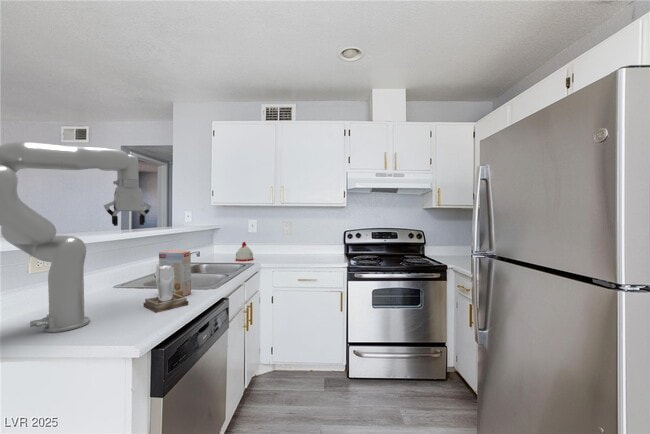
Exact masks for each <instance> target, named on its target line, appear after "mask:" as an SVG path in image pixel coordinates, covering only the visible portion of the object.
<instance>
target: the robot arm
mask: <svg viewBox="0 0 650 434" xmlns="http://www.w3.org/2000/svg"><path fill="white" fill-rule="evenodd" d="M24 169H25V170H26V169H37V170H38V169H39V170H61V171H81V170H90V169H93V170H94V169H98V170H100V171H105V172H107V171H108V172H109V171H114V172H116V174H117V175H116V176H117V177H116V178H117V180H113V182H112V183H113V185H116V187H115V189H114V194H113V195H114V196H113V201H110V202H108V203H106V204H103V208H104V209H105V211H106V213H107V214H108V215H110V216H111V223H112V225H113V226H114V227H117V226H118V224H119V220H118V218H119V217H118V214H119V213H120V212H137V213H138V214H139V216H138V217H139V225H141V226H144V225H145V223H146V216H147V214H148V213H149V212H150V210H151V209H152V205H150V204H149V203H147V202H145V201H144V197H143V191H142V188H141V187H139V185H140V184H139V183H140V181H139V159H138V156H136V155H133V154H128V153H127V152H126V151H124V150H121V149H117V148H116V149H114V148H105V147H90V146H87V147H86V146H81V145H79V146H77V145H65V144H55V143H46V142H38V141H37V142H36V141H27V140H26V141H22V140H21V141H20V140H19V141H13V142H6V143H3V144H1V145H0V227H1V228H0V229H1V230H0V232H1V235H2V238H3V239H4V240H5V241H6V242H7V243H9V244H10V245H12V246H14V247H16V248H17V249H19V250H21V251H23V252H24V253H26V254H28V255H29V256H31V257H33V258H35V259H36V260H39V261H42V262H45V263H50V267H49V269H48V275H47V284H48V289H47V290H48V294H47V295H48V314H46V317H42V319H35V320H34V319H33V320H30V322H29V326H30V328H33V327H36V328H38V327H42V331H43V332H45V333H46V332H47V333H59V332H66V331H71V330H75V329H79V328H82V327H83V326H87V325H88V324H90V322H91V317H89V316H85V278H84V276H85V275H84V273H85V272H84V271H85V270H84V268H85V267H84V266H85V260H86V255H87V246H86V244H85V242H84V241H83V240H82V239H81V238H79V237H78V236H77V237H76V236H72V235H56V234H57V229H56V226H55V225H54V224H53V222H51V220H49V219H48V218H46V217H44V216H43V215H42V214H40V213H39V212H37V211H36V210H34V209H32V208H31V207H29V206H28V205H27V204H26V203H25V202H24V201H23V200H21V198H20V197H19V195H18V186H19V185H18V183H19V180H18V179H19V178H18V175H17V174H16V173H17V172H19V171H20V170H24ZM110 207H113V210H111V209H110ZM144 208H145V210H144Z"/></svg>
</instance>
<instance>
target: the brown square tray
mask: <svg viewBox="0 0 650 434" xmlns="http://www.w3.org/2000/svg"><path fill="white" fill-rule="evenodd" d="M172 295H173V300H172V301H167V302H163V303H158V296H153V297H149V298H145V299H144V302H143V307H145V308H146V309H149V310H150V311H152V312H154V313H155V314H157V313H162V312H164V311H169V310H172V309H177V308H180V307H185V306H189V301H188V299H187V297H185V296H181V295H178V294H175V293H172Z"/></svg>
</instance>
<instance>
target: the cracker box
mask: <svg viewBox="0 0 650 434" xmlns="http://www.w3.org/2000/svg"><path fill="white" fill-rule="evenodd" d="M191 259H192V258H191V250H190V251H189V250H188V251H186V250H183V251H182V250H162V251H159V252H158V260H159V261H158V264H159V265H158V267H159V266H174V285H173V291H172V293H175V294H178V295H181V296H183V297H185V296H188V295H191V294H192V272H191V271H192V267H191V266H192V265H191V264H192V263H191V262H192V261H191Z"/></svg>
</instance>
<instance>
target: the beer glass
mask: <svg viewBox="0 0 650 434" xmlns="http://www.w3.org/2000/svg"><path fill="white" fill-rule="evenodd" d="M155 283H156V287H157V293H158V296H157V297H158V303H163V302H167V301H172V300H173V295H172V291H173V285H174V266H159V265H158V266H157V267H156V270H155Z"/></svg>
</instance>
